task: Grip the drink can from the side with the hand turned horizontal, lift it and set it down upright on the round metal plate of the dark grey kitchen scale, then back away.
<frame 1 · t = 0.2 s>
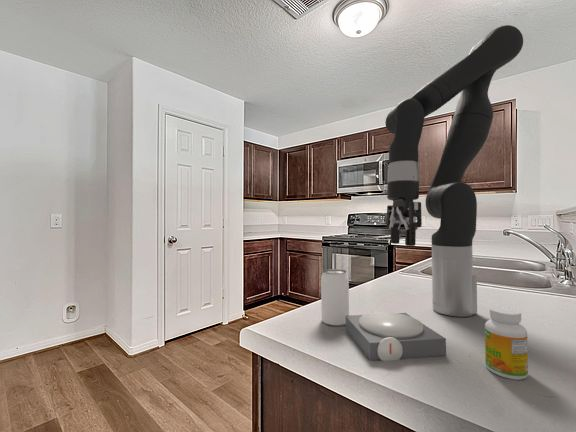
hand: (402, 244, 73), 18 cm above the counter, tool pointing down, fingers open, 8 cm apart
supplement bottle: (506, 372, 46), on the counter
scale: (390, 340, 57), on the counter
can: (335, 322, 68), on the counter
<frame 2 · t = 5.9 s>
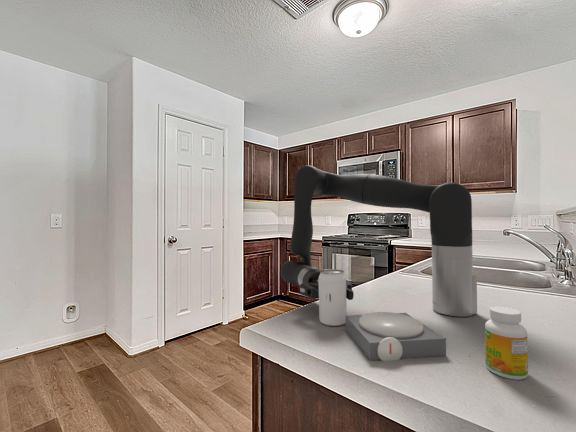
hand: (341, 296, 66), 7 cm above the counter, tool horizontal, fingers closed on can, 4 cm apart
can: (333, 322, 68), on the counter, touching gripper
everything else where it was.
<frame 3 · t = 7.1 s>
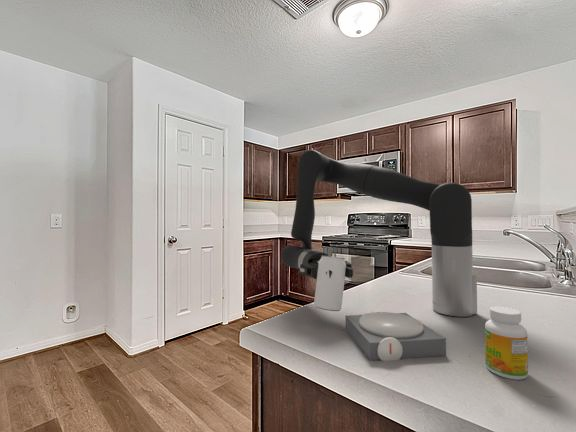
hand: (341, 274, 66), 12 cm above the counter, tool horizontal, fingers closed on can, 4 cm apart
can: (327, 309, 67), point 3 cm above the counter, touching gripper
everything else where it was.
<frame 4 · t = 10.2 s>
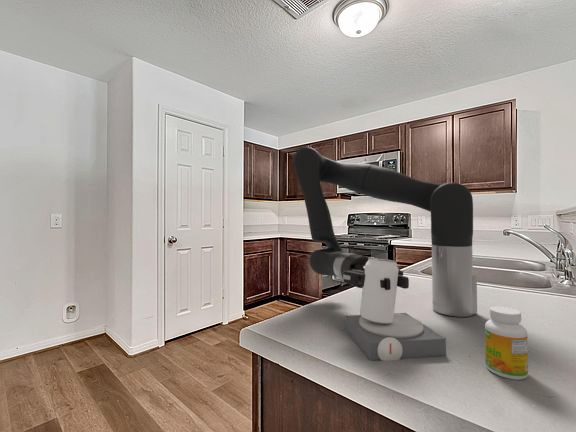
hand: (397, 283, 55), 12 cm above the counter, tool horizontal, fingers closed on can, 3 cm apart
can: (375, 320, 57), point 4 cm above the counter, touching gripper
everything else where it was.
when the fingers open (12 cm above the counter, at t = 10.4 s): can stays where it is, resting on scale.
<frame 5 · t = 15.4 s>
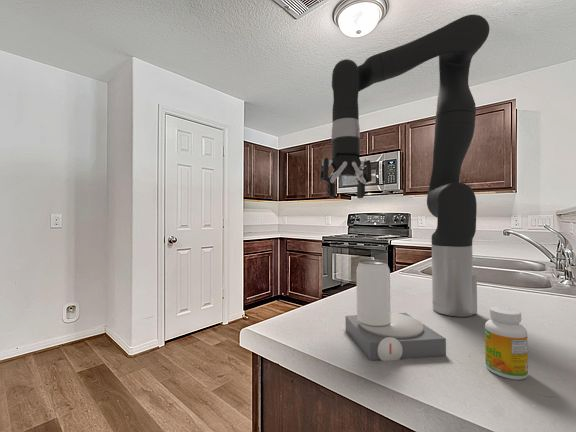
hand: (346, 197, 78), 30 cm above the counter, tool pointing down, fingers open, 8 cm apart
can: (373, 322, 58), point 4 cm above the counter, touching scale
everything else where it was.
at the end: can inside the target area on the scale (3.2 cm from its centre), point 3.6 cm above the scale's base; can tilted 0°; the gripper is holding nothing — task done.
